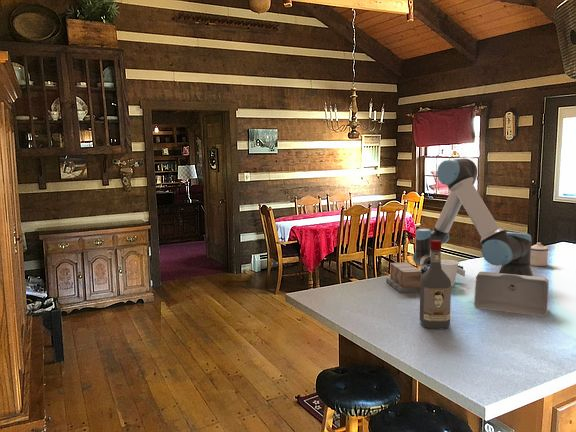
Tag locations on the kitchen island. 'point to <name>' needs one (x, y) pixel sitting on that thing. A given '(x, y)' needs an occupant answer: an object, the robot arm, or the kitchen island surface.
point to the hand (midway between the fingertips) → (449, 274)
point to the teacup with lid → (539, 255)
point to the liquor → (435, 292)
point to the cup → (450, 269)
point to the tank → (511, 293)
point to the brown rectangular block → (404, 277)
